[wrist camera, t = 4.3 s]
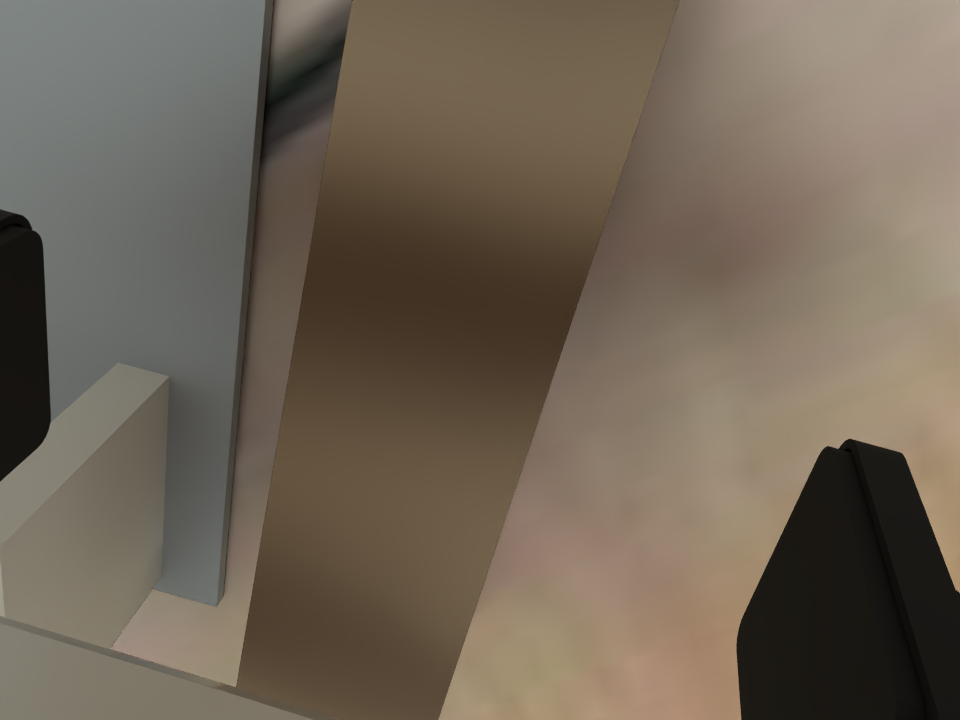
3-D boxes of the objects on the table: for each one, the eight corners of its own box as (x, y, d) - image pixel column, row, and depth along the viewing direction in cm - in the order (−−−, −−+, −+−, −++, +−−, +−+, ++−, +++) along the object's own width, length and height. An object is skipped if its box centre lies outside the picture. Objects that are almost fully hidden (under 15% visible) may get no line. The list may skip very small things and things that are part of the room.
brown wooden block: (462, 611, 23) (416, 782, 19) (311, 563, 23) (230, 722, 19) (781, -365, 13) (842, -487, 9) (518, -437, 13) (451, -592, 9)
